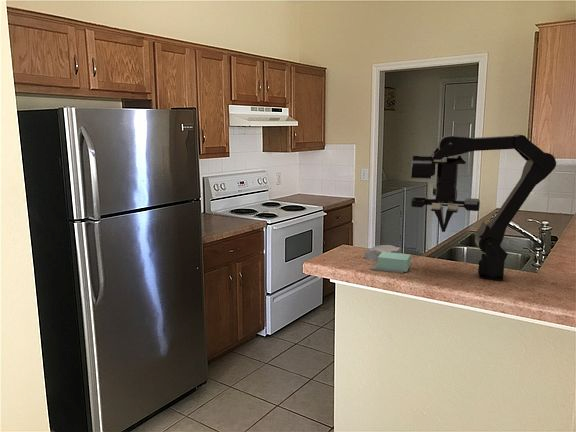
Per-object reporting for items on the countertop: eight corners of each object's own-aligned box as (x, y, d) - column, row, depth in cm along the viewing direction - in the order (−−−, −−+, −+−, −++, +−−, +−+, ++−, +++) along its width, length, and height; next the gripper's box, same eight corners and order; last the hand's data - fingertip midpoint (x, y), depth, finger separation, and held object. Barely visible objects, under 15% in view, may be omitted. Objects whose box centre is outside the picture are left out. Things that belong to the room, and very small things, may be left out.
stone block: (362, 264, 160) (389, 263, 154) (360, 250, 160) (387, 249, 154) (377, 258, 170) (404, 257, 164) (375, 244, 170) (402, 243, 164)
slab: (411, 254, 150) (382, 251, 154) (407, 260, 144) (377, 257, 148) (410, 265, 151) (382, 262, 155) (406, 271, 145) (377, 268, 148)
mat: (407, 266, 152) (407, 265, 152) (403, 273, 144) (403, 272, 144) (376, 262, 156) (376, 261, 155) (370, 269, 148) (370, 268, 148)
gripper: (482, 177, 142) (478, 229, 145) (418, 175, 150) (415, 224, 153) (480, 181, 132) (476, 236, 135) (412, 178, 140) (409, 231, 143)
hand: (443, 231), depth 142 cm, fingers closed
